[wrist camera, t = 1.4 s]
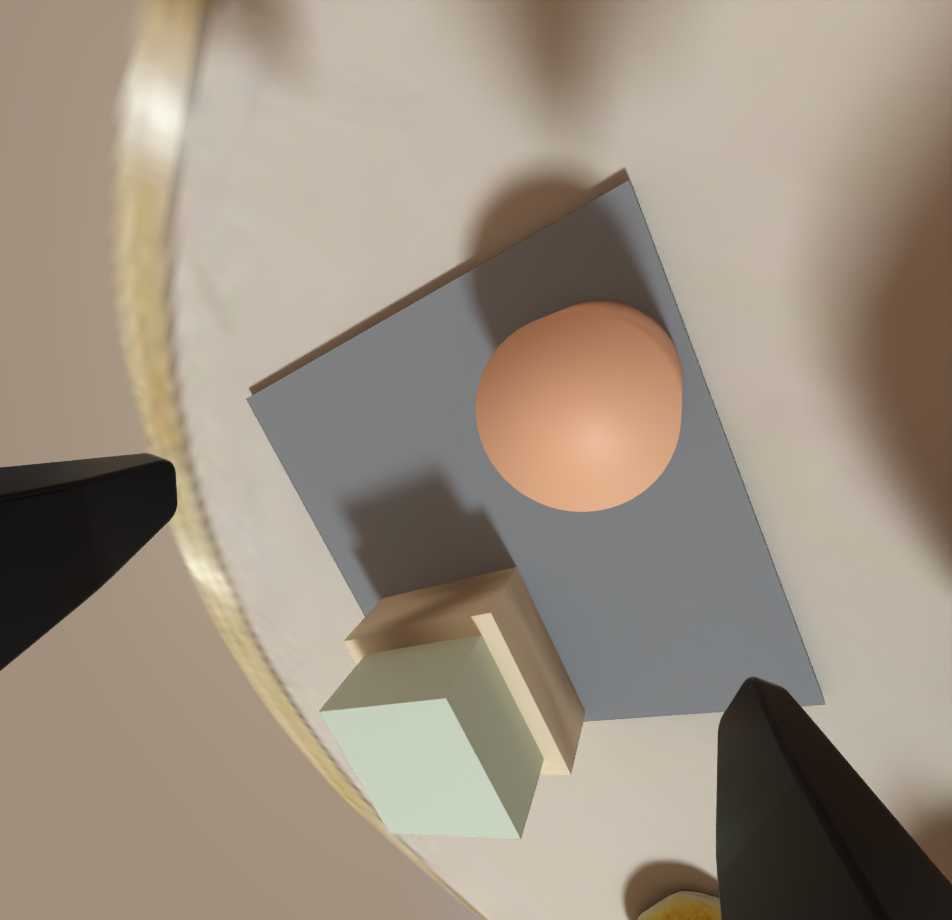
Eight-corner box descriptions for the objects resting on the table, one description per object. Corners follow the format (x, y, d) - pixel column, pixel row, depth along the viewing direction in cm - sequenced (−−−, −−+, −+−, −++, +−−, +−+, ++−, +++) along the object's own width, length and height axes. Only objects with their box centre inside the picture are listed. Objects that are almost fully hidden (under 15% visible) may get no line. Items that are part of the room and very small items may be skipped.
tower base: (516, 566, 20) (490, 612, 17) (585, 711, 21) (570, 774, 19) (382, 598, 23) (343, 641, 21) (448, 722, 24) (419, 777, 22)
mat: (630, 181, 15) (628, 180, 14) (823, 695, 18) (825, 704, 17) (252, 396, 22) (246, 398, 22) (431, 726, 26) (428, 732, 25)
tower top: (481, 634, 18) (446, 697, 15) (544, 758, 19) (520, 839, 16) (365, 654, 20) (318, 712, 18) (426, 763, 21) (389, 833, 19)
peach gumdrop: (646, 269, 15) (633, 272, 11) (707, 431, 16) (713, 480, 12) (493, 342, 17) (444, 364, 14) (554, 479, 18) (522, 531, 15)
